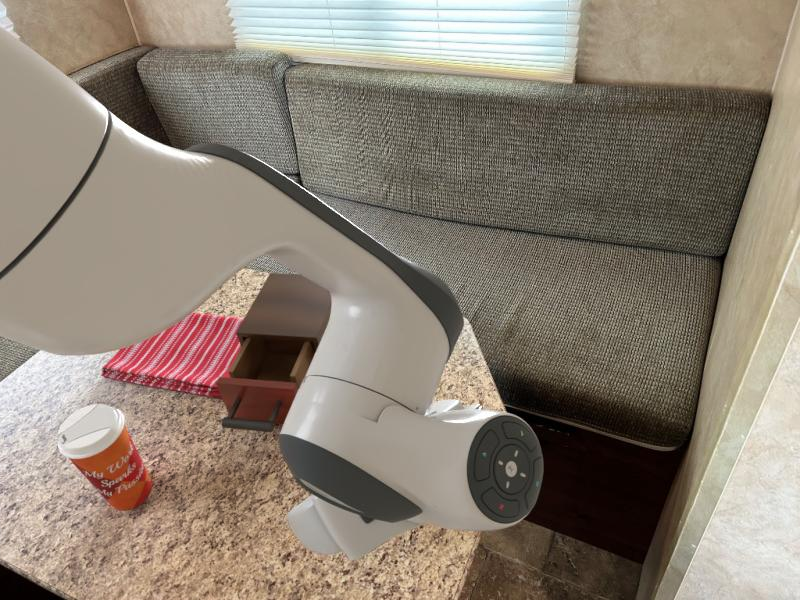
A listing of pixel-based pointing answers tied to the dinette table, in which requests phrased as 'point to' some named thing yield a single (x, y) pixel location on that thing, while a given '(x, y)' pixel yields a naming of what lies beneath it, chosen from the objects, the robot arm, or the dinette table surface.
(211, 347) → the dish towel
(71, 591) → the dinette table surface
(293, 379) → the drawer
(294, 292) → the cabinet
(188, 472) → the dinette table surface
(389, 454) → the robot arm
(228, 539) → the dinette table surface
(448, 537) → the dinette table surface
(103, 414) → the paper cup
